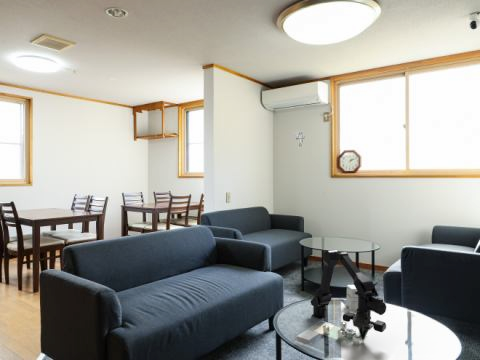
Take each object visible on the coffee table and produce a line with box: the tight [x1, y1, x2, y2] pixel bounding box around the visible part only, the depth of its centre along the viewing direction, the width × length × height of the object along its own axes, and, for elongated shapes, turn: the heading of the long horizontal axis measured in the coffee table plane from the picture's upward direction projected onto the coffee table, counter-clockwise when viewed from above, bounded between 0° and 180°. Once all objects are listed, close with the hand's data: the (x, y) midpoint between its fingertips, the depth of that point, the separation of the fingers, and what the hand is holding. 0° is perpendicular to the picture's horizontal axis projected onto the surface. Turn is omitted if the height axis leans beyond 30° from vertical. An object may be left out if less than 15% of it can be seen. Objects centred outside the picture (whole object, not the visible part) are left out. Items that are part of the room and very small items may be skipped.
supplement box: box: [345, 284, 358, 311], centre depth 202 cm, size 7×7×13 cm
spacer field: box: [323, 321, 361, 347], centre depth 166 cm, size 18×13×4 cm
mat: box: [313, 322, 368, 346], centre depth 167 cm, size 22×13×1 cm, turn 50°
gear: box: [344, 328, 357, 340], centre depth 164 cm, size 6×6×3 cm
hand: (363, 339), depth 160 cm, fingers closed
